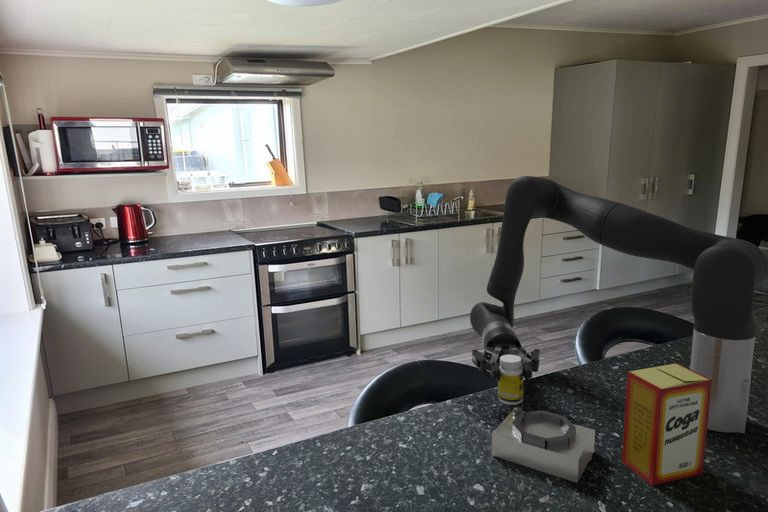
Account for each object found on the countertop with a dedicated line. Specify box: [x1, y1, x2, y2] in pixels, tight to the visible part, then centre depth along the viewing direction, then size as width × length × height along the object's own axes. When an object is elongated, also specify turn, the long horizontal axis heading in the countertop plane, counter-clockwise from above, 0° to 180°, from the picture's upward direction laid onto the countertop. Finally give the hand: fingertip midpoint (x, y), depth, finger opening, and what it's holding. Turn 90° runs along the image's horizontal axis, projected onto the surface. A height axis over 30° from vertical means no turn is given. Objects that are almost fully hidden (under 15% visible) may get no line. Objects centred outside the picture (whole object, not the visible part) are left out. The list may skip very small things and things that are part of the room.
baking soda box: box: [621, 363, 712, 487], centre depth 82 cm, size 10×6×16 cm
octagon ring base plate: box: [491, 406, 596, 484], centre depth 88 cm, size 14×10×5 cm
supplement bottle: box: [497, 355, 524, 406], centre depth 100 cm, size 5×5×8 cm
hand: (513, 375), depth 97 cm, fingers closed on supplement bottle, 4 cm apart
